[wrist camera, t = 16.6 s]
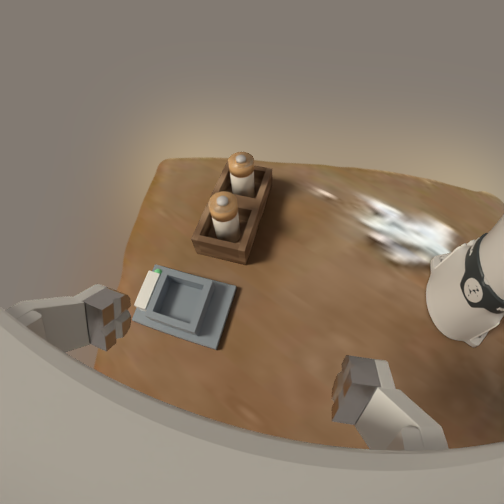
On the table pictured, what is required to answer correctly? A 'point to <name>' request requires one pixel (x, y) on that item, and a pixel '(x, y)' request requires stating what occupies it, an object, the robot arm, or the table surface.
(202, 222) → the rack
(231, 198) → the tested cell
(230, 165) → the cell
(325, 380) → the table surface
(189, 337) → the checker
